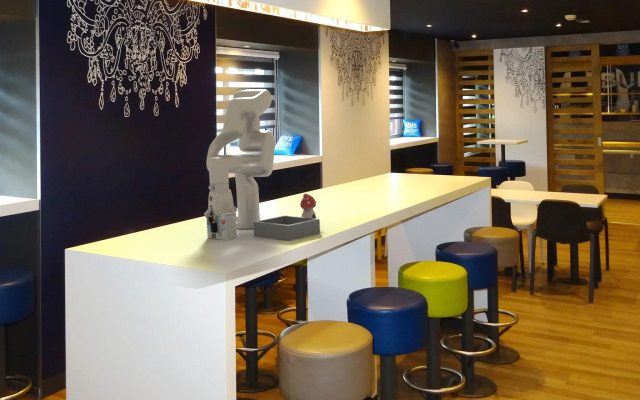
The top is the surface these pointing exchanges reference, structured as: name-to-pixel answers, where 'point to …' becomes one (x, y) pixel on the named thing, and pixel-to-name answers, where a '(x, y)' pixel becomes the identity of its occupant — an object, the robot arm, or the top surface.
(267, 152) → the robot arm
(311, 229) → the tote
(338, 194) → the top surface
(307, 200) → the decorative ornament
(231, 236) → the light bulb box
